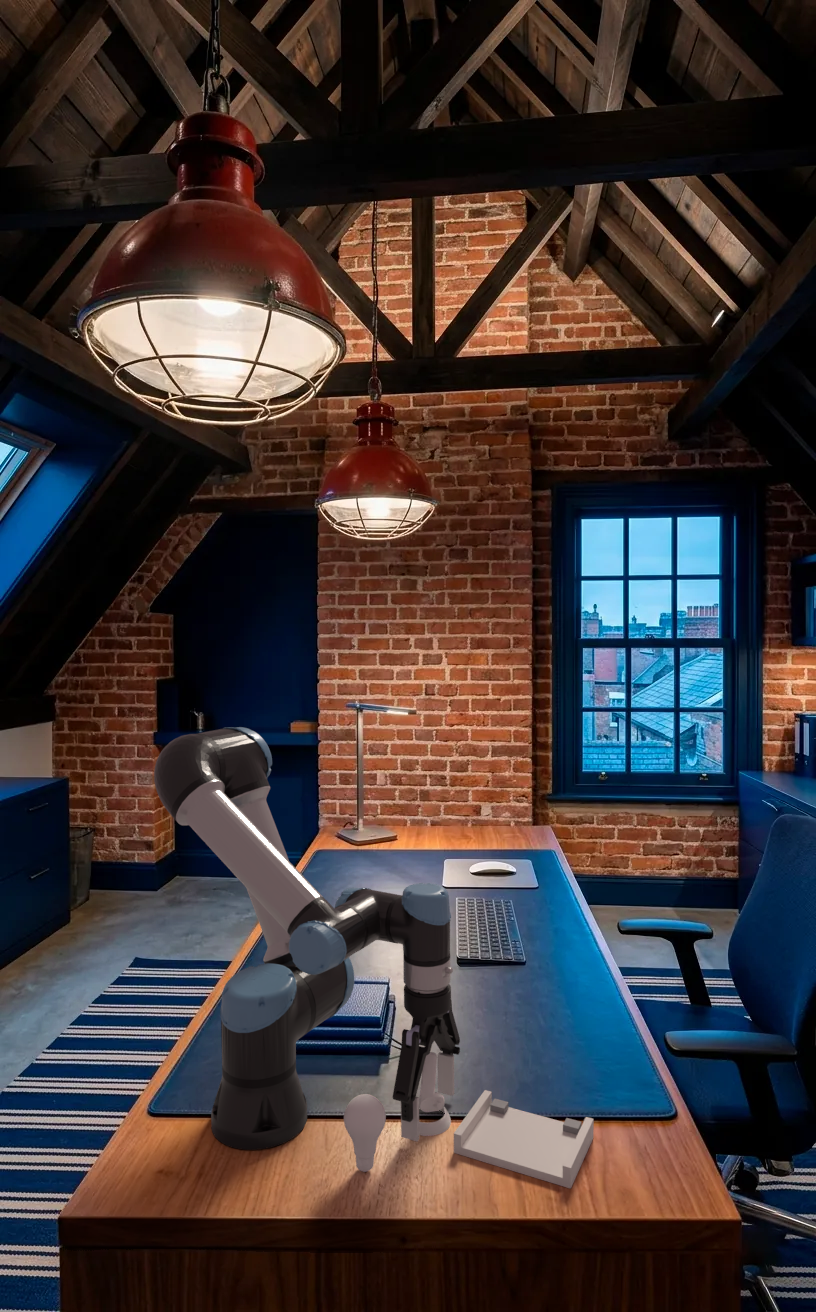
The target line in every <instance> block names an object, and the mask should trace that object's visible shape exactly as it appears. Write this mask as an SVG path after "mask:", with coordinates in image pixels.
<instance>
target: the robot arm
mask: <svg viewBox="0 0 816 1312" xmlns="http://www.w3.org/2000/svg"><path fill="white" fill-rule="evenodd" d="M272 757H273V756H272V752H271V750H270V748H269V746H268V743H267V742H266V741H265V739H264V738H263V737H262V736H261V735H260V734H259V733H258V732H256V731H254V730H252V729H250V728H247V727H242V726H239V727H232V726H231V727H223V728H220V729H215V730H209V731H204V732H199V733H189V734H183V735H180V736H178V737H176V738H174V739H173V740H171V741H170V742H169V743H168V744H166V745H165V746H164V747H163V748H162V750H161V752H159V754H158V757H157V759H156V762H155V765H154V771H153V773H154V775H153V777H154V779H153V780H154V781H153V782H154V786H155V790H156V793H157V795H158V797H159V800H160V801H161V803H162V805H163V807H164V809H166V811H167V812H168V813H169V815H170V816H171V817H172V818H173V819H174V820H175V821H176V822H177V823H178V824H179V825H180V826H189V827H190V828H191V829H192V830H193V831H194V832H195V833H196V835H197V836H198V837H199V838H200V839H201V840H202V841H203V842H204V843H205V845H206V846H207V847H209V849H210V850H211V851H212V852H213V853H214V854H215V855H216V857H218V859H219V860H221V862H222V863H223V864H224V866H226V867H227V868H228V869H229V870H230V872H231V873H232V874H233V875H234V876H235V877H236V878H237V879H238V880H239V882H240V883H242V885H243V886H244V887H245V889H246V890H247V891H246V892H247V893H248V897H249V898H250V901H251V905H252V906H253V909H254V912H255V916H256V918H257V920H258V923H259V926H260V929H261V932H262V934H263V937H264V939H265V942H266V946H267V949H266V951H265V954H264V956H263V958H262V959H263V963H262V964H261V963H260V964H258V965H257V966H252V965H250V966H248V967H246V968H243V969H242V970H239V971H238V972H237V973H234V974H233V975H232V976H231V977H230V978H229V979H228V980H227V982H226V983H225V985H224V986H223V987H224V988H223V989H222V994H221V1004H220V1012H219V1013H220V1014H219V1016H220V1028H221V1029H220V1031H221V1069H222V1070H221V1080H220V1083H219V1086H218V1089H217V1093H216V1096H215V1099H214V1101H213V1105H212V1107H211V1108H212V1109H211V1113H210V1115H211V1117H210V1119H211V1120H210V1121H211V1123H210V1125H211V1132H212V1134H213V1136H214V1138H216V1139H217V1141H219V1142H220V1143H222V1144H224V1145H225V1146H227V1147H230V1148H234V1149H238V1150H247V1151H248V1150H249V1151H254V1150H255V1151H257V1150H263V1149H269V1148H274V1147H277V1146H279V1145H282V1144H284V1143H286V1142H288V1141H290V1140H292V1139H293V1138H295V1137H296V1136H297V1135H299V1134H300V1132H302V1130H303V1129H304V1128H305V1125H306V1124H307V1120H308V1103H307V1101H308V1100H307V1098H306V1096H305V1093H304V1092H303V1088H302V1085H301V1081H300V1078H299V1074H298V1072H297V1059H296V1058H297V1053H296V1052H297V1050H296V1047H297V1045H296V1044H297V1041H298V1040H299V1039H302V1038H303V1037H304V1036H305V1035H307V1034H308V1033H309V1032H311V1031H312V1030H314V1029H315V1028H316V1027H317V1026H319V1025H320V1024H322V1023H323V1022H324V1021H326V1020H328V1019H331V1018H333V1017H334V1016H335V1015H336V1014H337V1013H338V1012H339V1011H340V1010H341V1009H342V1008H343V1007H344V1006H345V1005H346V1004H347V1003H348V1001H349V999H350V998H351V995H352V993H353V990H354V987H355V970H354V965H353V962H352V960H351V958H350V957H352V955H354V954H356V953H358V952H359V951H362V950H364V948H366V947H368V946H369V945H371V944H372V943H374V942H376V941H383V942H387V943H392V944H400V945H402V952H403V954H402V955H403V960H402V962H403V970H402V972H403V976H402V977H403V983H404V987H403V1006H404V1009H405V1011H406V1012H407V1013H408V1014H410V1016H411V1018H412V1020H411V1021H412V1022H411V1027H410V1029H406V1028H403V1030H402V1031H401V1032H402V1033H401V1045H400V1046H401V1047H400V1052H399V1058H398V1064H397V1069H396V1075H395V1081H394V1087H393V1092H392V1093H393V1094H392V1100H394V1101H399V1102H400V1136H401V1138H403V1139H406V1140H409V1141H414V1142H418V1141H419V1140H420V1135H419V1122H420V1109H419V1096H417V1094H418V1090H419V1085H420V1083H421V1078H422V1070H423V1066H424V1062H425V1058H426V1056H427V1055H428V1054H429V1053H430V1052H432V1051H431V1050H432V1047H433V1044H434V1042H435V1044H436V1046H437V1048H438V1050H439V1051H440V1052H438V1053H436V1055H437V1093H440V1094H442V1095H443V1094H444V1095H446V1096H447V1095H448V1096H450V1097H453V1096H454V1095H455V1055H460V1052H461V1048H460V1047H459V1045H460V1043H461V1037H460V1035H459V1030H458V1028H457V1023H456V1020H455V1016H454V1011H453V1006H452V1005H453V1004H452V1003H453V1002H452V987H451V985H450V983H451V978H452V977H451V974H452V973H453V971H454V970H453V967H451V919H452V913H451V909H450V907H451V906H450V895H449V892H448V890H447V889H446V888H445V887H443V886H442V885H440V884H436V883H423V882H422V883H414V884H413V883H412V884H410V885H407V886H406V887H405V888H404V889H403V891H402V894H396V893H390V892H386V891H385V892H384V891H380V890H375V889H372V888H367V887H348V888H346V889H344V890H343V891H342V892H341V894H340V896H338V897H337V899H336V901H335V904H334V906H332V904H331V903H330V902H329V901H328V900H327V899H326V898H325V897H324V896H323V895H322V894H321V893H320V892H319V891H318V890H317V889H316V888H315V887H314V885H312V884H311V883H310V882H309V881H308V879H307V878H305V876H304V875H303V874H302V873H301V872H300V871H299V870H298V869H297V868H296V867H295V866H294V865H293V863H291V862H290V861H289V857H288V854H287V852H286V849H285V846H284V843H283V841H282V839H281V836H280V834H279V831H278V828H277V825H276V823H275V820H274V818H273V815H272V812H271V810H270V807H269V805H268V802H267V797H268V795H269V792H270V790H271V786H270V783H269V781H268V778H269V776H270V774H271V772H272V769H271V767H272V766H273V758H272Z"/></svg>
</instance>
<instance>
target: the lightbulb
mask: <svg viewBox="0 0 816 1312" xmlns="http://www.w3.org/2000/svg"><path fill="white" fill-rule="evenodd" d="M386 1118H387V1115H386V1109H385V1106H384V1104H383V1103H382V1101H380V1100H379V1098H378V1097H376V1096H374V1095H372V1094H369V1093H368V1094H367V1093H362V1094H358V1095H355V1097H353V1098H352V1099H351V1100H350V1101H349V1102H348V1103H347V1105H346V1107H345V1110H344V1113H343V1123H344V1127H345V1130H346V1132H347V1134H348V1135H349V1137H350V1139H351V1141H352V1144H353V1153H354V1155H355V1164H356V1165H355V1166H356V1169H358V1170H359V1171H361V1172H364V1173H366V1172H367V1173H368V1171H371V1170H372V1169H373V1168H374V1164H375V1163H374V1161H375V1154H376V1150H377V1149H376V1148H377V1142H378V1140H379V1137H380V1136H381V1134H382V1132H383V1130H384V1128H385V1125H386Z"/></svg>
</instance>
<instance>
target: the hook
mask: <svg viewBox="0 0 816 1312" xmlns="http://www.w3.org/2000/svg"><path fill="white" fill-rule="evenodd" d="M437 1065H438V1059H437V1053H436V1052H433V1051H430V1053H429V1054H428V1055H427V1056H426V1058H425V1062H424V1066H423V1070H422V1074H421V1078H420V1093H419V1096H418V1097H419V1108H420V1109H419V1110H421V1111H422V1112H423V1113H430V1112H440V1111H439V1110H441V1111H442V1112H443V1113H442V1112H441V1113H442V1114H443V1116H442V1117H441V1118H440V1119H438V1120H436V1121H431V1122H424V1121H419V1136H424V1137H433V1136H437V1135H440V1134H441V1135H442V1134H443V1133H444V1132H446V1131H447V1130H448V1129H449V1128H450V1127H451V1123H452V1120H451V1119H452V1118H451V1116H450V1114H449V1111H448V1110H447V1108H446V1107H445V1103H446V1101H445V1097H444V1095H443V1093H439V1092H438V1091H436V1092H435V1090H436V1078H437V1077H436V1076H437ZM444 1113H445V1114H444Z"/></svg>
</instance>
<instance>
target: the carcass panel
mask: <svg viewBox="0 0 816 1312" xmlns="http://www.w3.org/2000/svg"><path fill="white" fill-rule="evenodd" d="M492 1094H493V1092H492V1091H490V1090H487V1089H485V1090H483V1092H482V1093H481V1095H480V1096H479V1097H478V1099H477V1100H476V1101H475V1103H474V1104H473V1106H472V1107H471V1108H470V1109H469V1111H468V1113H467V1115H466V1116H465V1117H464V1118H463V1120H462V1121H461V1123H460V1124H459V1125H458V1127H457V1128H456V1130H455V1131H454V1132H453V1154H457V1155H461V1156H463V1157H467V1158H470V1159H472V1160H476V1161H480V1162H483V1163H487V1164H489V1165H492V1166H495V1167H499V1168H502V1169H506V1170H508V1171H512V1172H516V1173H519V1174H522V1175H525V1176H528V1177H530V1178H531V1177H532V1178H535V1179H538V1180H540V1181H541V1180H542V1181H545V1182H549V1183H551V1184H554V1185H558V1186H561V1187H564V1188H567V1189H572V1187H573V1185H574V1183H575V1181H576V1178H577V1176H578V1173H579V1171H580V1169H581V1167H582V1164H583V1162H584V1159H585V1157H586V1155H587V1153H588V1151H589V1148H590V1147H591V1144H592V1142H593V1139H594V1131H595V1130H594V1129H595V1128H594V1121H595V1120H594V1118H592V1117H587V1116H586V1117H584V1119H583V1122H582V1121H580V1120H576V1119H572V1118H568V1117H566V1118H565V1120H564V1121H562V1120H557V1119H553V1118H550V1117H546V1116H543V1115H539V1114H536V1113H532V1112H528V1111H523V1110H521V1109H516V1108H514V1107H510V1106H509V1101H505V1100H502V1099H498V1098H493V1096H492Z"/></svg>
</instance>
